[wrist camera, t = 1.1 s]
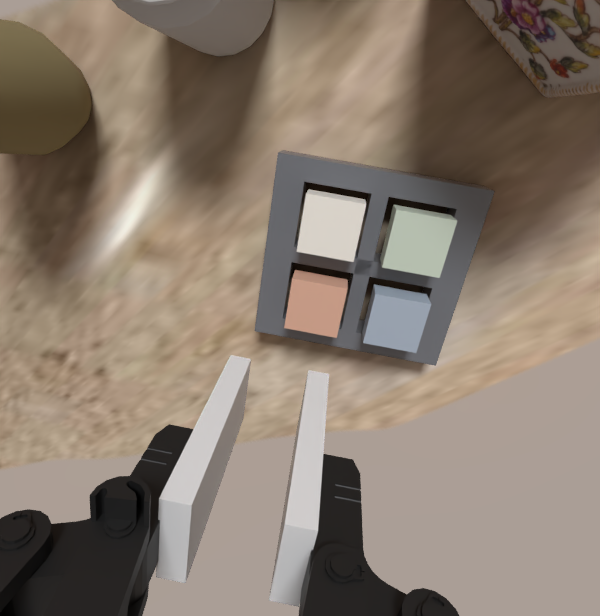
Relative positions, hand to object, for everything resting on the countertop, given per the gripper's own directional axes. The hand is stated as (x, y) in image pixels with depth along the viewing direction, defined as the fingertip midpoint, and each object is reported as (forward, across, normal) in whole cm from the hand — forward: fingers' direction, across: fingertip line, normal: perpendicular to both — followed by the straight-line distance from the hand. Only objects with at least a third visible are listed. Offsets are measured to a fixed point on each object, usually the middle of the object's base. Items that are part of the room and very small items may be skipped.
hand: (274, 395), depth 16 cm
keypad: (+20, +4, 0) cm, 21 cm away
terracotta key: (+19, +1, -3) cm, 19 cm away
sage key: (+19, +7, +3) cm, 20 cm away
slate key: (+19, +7, -3) cm, 20 cm away
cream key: (+19, +1, +3) cm, 19 cm away
